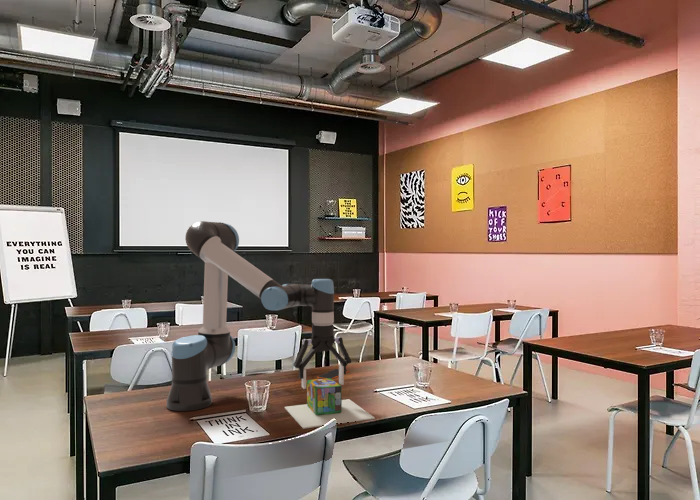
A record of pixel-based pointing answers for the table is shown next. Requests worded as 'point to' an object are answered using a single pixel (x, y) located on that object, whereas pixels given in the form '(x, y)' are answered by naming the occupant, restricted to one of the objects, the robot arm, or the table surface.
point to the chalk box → (324, 396)
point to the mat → (328, 415)
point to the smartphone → (331, 374)
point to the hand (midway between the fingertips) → (322, 386)
